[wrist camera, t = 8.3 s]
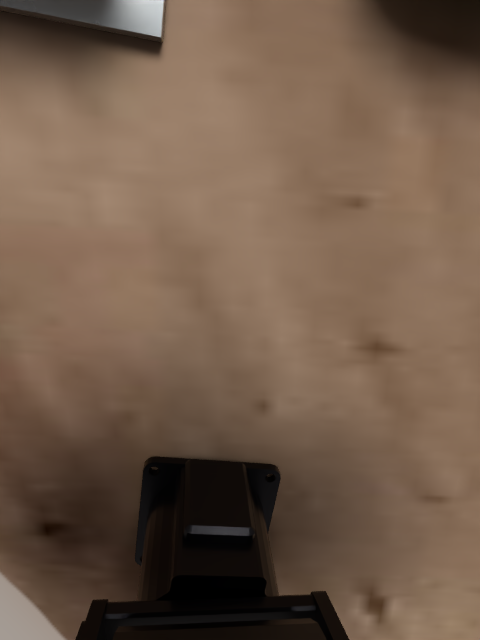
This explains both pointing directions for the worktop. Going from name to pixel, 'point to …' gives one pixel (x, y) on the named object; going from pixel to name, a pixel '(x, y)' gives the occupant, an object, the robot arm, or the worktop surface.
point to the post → (98, 14)
